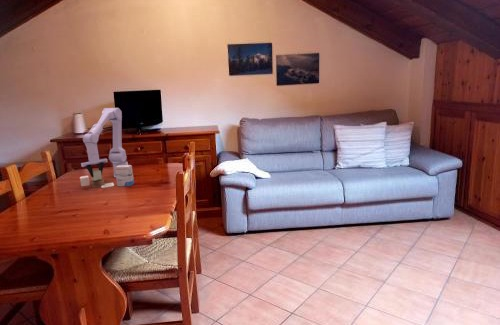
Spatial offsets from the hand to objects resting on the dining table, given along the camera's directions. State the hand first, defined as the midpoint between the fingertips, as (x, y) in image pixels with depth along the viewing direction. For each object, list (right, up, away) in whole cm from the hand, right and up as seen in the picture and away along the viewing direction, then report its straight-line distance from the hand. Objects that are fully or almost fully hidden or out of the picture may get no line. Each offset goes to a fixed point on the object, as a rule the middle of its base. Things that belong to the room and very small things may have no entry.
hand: (96, 176), depth 204 cm
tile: (+7, -6, 0) cm, 9 cm away
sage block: (0, -2, +1) cm, 2 cm away
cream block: (-9, -6, +4) cm, 11 cm away
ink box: (+18, -6, 0) cm, 19 cm away
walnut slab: (0, -6, +1) cm, 6 cm away
